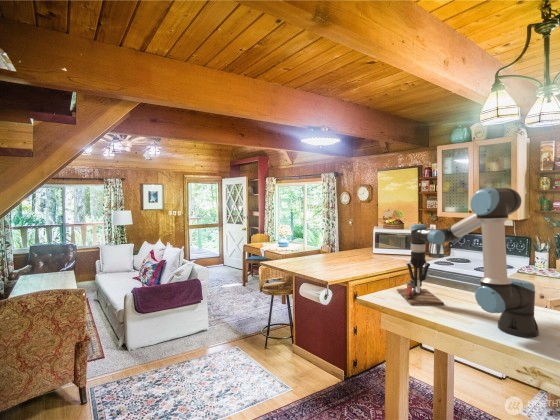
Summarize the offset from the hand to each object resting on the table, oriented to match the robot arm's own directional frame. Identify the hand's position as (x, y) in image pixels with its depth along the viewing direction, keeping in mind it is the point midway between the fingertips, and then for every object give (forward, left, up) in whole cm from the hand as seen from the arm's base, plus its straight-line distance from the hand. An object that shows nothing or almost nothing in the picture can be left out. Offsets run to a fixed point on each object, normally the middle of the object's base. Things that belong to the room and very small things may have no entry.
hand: (417, 292), depth 189 cm
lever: (+7, 0, -4) cm, 8 cm away
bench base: (+7, -3, -6) cm, 10 cm away
